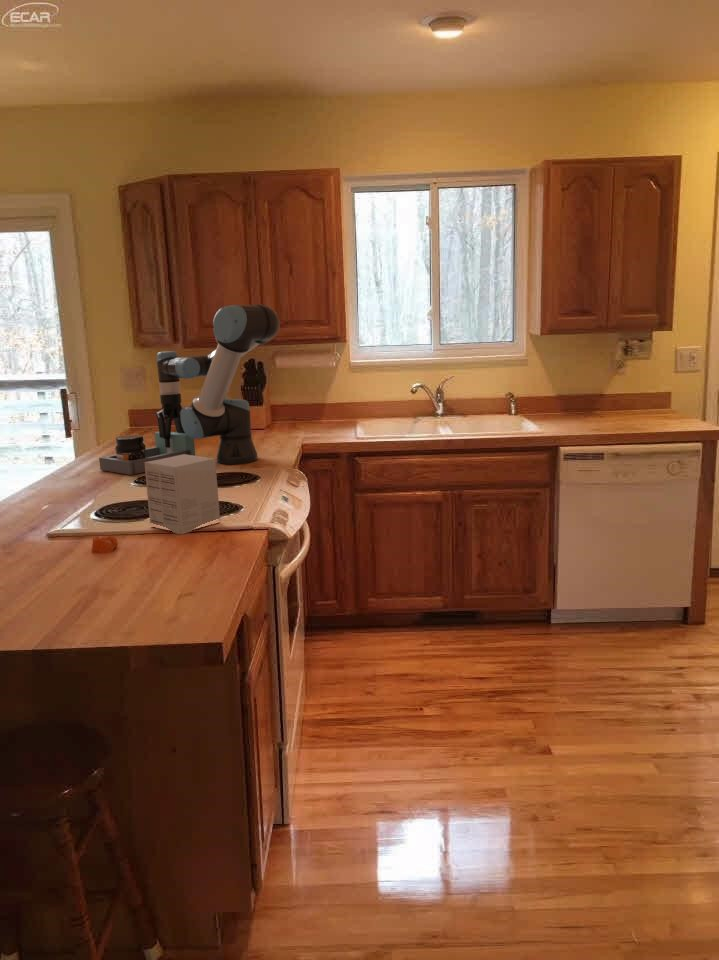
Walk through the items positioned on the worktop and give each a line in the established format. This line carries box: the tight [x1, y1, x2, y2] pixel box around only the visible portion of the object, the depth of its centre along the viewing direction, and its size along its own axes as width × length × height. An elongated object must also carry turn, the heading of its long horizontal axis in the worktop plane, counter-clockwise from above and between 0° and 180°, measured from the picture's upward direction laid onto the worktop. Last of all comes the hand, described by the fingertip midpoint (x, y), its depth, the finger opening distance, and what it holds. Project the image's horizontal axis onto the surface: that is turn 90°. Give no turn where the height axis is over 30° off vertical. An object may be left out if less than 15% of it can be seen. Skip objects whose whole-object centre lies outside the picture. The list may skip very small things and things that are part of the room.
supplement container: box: [114, 434, 147, 461], centre depth 281 cm, size 10×10×12 cm
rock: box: [90, 535, 119, 554], centre depth 186 cm, size 12×12×4 cm
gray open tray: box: [98, 431, 196, 476], centre depth 287 cm, size 18×29×10 cm, turn 142°
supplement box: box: [144, 454, 221, 535], centre depth 203 cm, size 13×13×18 cm
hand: (175, 454), depth 297 cm, fingers closed on gray open tray, 4 cm apart
